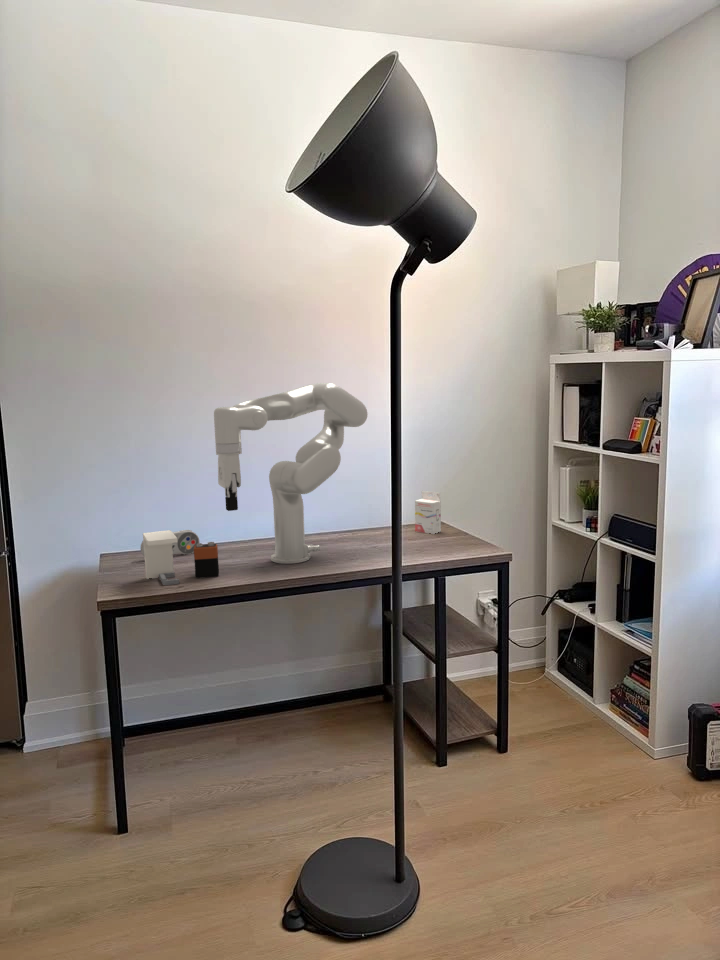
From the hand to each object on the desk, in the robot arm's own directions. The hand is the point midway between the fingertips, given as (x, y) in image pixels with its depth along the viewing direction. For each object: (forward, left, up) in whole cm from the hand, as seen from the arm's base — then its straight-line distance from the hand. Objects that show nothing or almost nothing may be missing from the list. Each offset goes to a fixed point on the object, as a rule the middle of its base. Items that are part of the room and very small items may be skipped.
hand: (231, 509), depth 220 cm
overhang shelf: (+21, 0, -19) cm, 29 cm away
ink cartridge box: (-77, -19, -19) cm, 81 cm away
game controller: (+14, -29, -20) cm, 38 cm away
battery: (+8, 0, -19) cm, 21 cm away
